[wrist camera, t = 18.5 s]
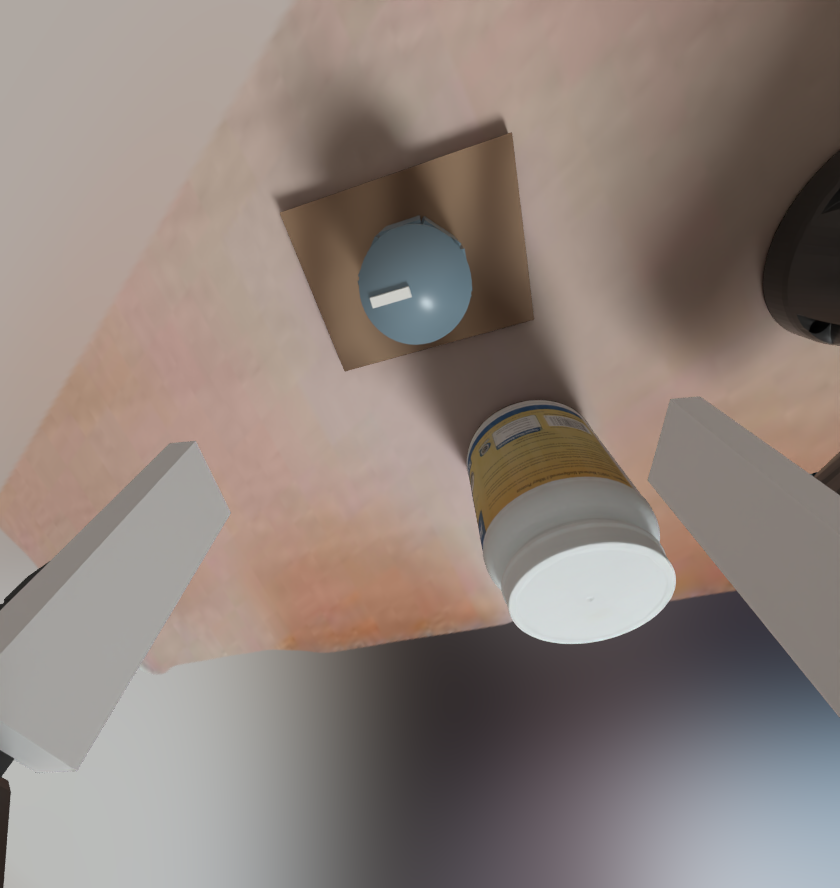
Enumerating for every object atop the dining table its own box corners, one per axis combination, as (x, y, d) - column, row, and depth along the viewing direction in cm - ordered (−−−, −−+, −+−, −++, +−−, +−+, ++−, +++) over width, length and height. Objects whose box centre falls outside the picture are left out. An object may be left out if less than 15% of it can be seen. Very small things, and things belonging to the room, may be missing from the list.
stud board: (508, 134, 25) (529, 120, 20) (530, 316, 31) (550, 336, 27) (283, 212, 27) (256, 215, 23) (346, 367, 33) (334, 394, 29)
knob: (449, 205, 26) (458, 207, 20) (469, 302, 30) (482, 329, 23) (358, 235, 27) (340, 246, 21) (387, 325, 31) (379, 358, 24)
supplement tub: (439, 452, 38) (452, 602, 24) (537, 367, 34) (624, 492, 19) (517, 514, 43) (566, 671, 29) (613, 447, 38) (729, 596, 24)
